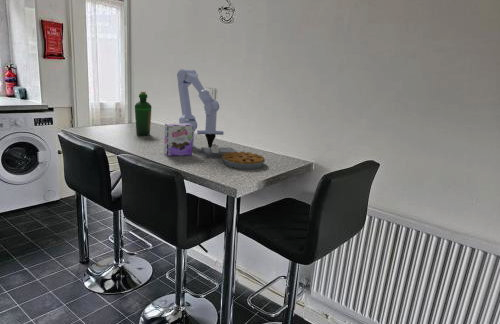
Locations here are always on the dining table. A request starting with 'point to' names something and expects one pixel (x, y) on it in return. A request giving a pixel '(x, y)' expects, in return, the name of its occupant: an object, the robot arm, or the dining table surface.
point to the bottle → (143, 115)
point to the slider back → (214, 145)
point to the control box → (210, 154)
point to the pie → (243, 160)
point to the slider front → (215, 149)
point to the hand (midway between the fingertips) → (209, 147)
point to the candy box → (178, 139)
